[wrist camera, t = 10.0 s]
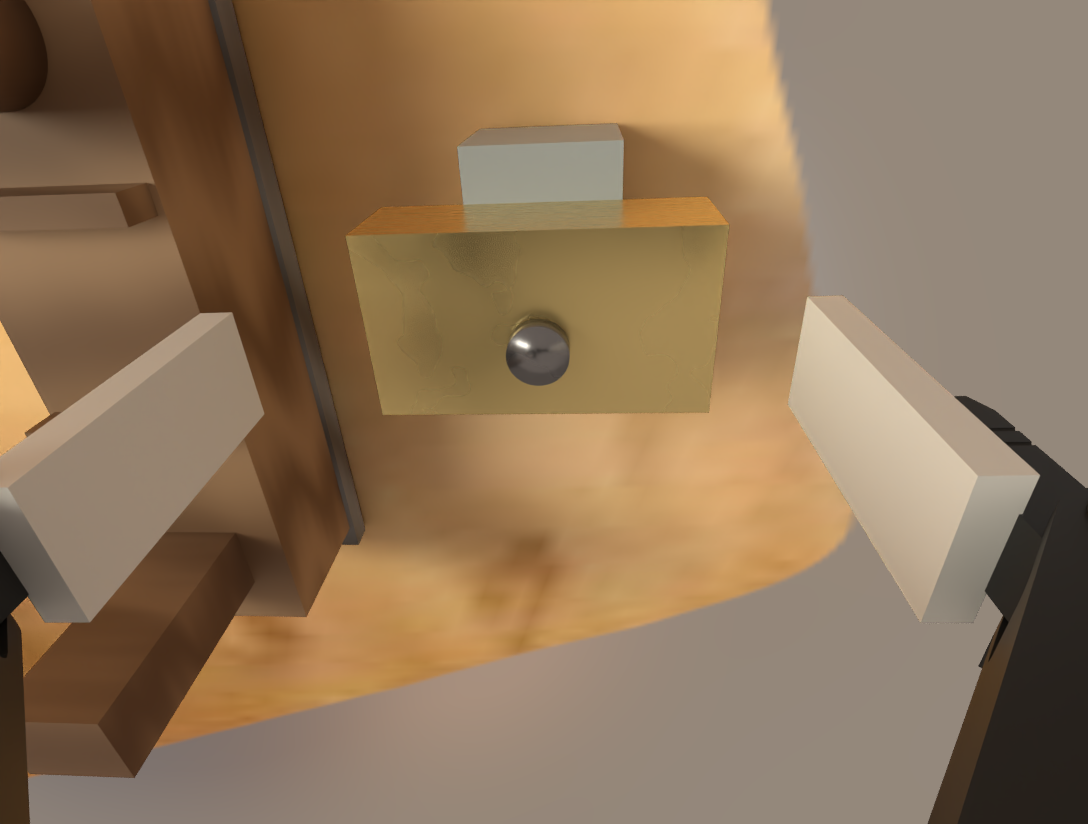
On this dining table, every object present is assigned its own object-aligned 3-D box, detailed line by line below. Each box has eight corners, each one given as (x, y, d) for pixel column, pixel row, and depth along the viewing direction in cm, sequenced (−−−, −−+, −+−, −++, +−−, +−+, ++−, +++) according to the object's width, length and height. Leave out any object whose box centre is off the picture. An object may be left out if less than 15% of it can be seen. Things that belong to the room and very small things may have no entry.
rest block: (499, 354, 24) (485, 406, 20) (479, 128, 20) (457, 146, 16) (613, 352, 24) (618, 405, 20) (617, 123, 19) (623, 140, 16)
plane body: (365, 530, 29) (227, 833, 18) (234, 529, 29) (20, 824, 18) (195, -143, 17) (-588, -519, 6) (-24, -126, 17) (-1151, -441, 6)
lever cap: (692, 363, 19) (713, 424, 16) (408, 366, 20) (376, 426, 17) (707, 196, 17) (735, 231, 14) (381, 207, 17) (336, 242, 14)
